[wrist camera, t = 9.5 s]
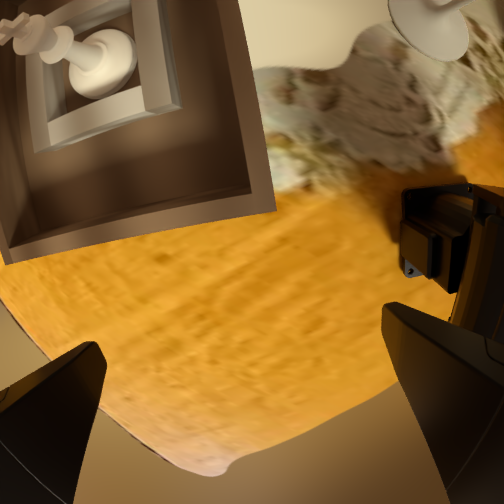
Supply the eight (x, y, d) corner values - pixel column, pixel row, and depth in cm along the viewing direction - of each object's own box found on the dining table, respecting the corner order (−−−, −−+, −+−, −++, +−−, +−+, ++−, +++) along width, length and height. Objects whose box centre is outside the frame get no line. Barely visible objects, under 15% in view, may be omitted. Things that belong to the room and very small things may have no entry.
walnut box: (217, -76, 12) (209, -114, 7) (271, 194, 19) (276, 210, 14) (17, 6, 13) (-17, -7, 8) (43, 242, 20) (5, 265, 16)
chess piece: (66, 55, 15) (-36, 26, 5) (126, 18, 14) (42, -47, 5) (83, 112, 16) (-30, 107, 7) (147, 76, 16) (53, 28, 6)
